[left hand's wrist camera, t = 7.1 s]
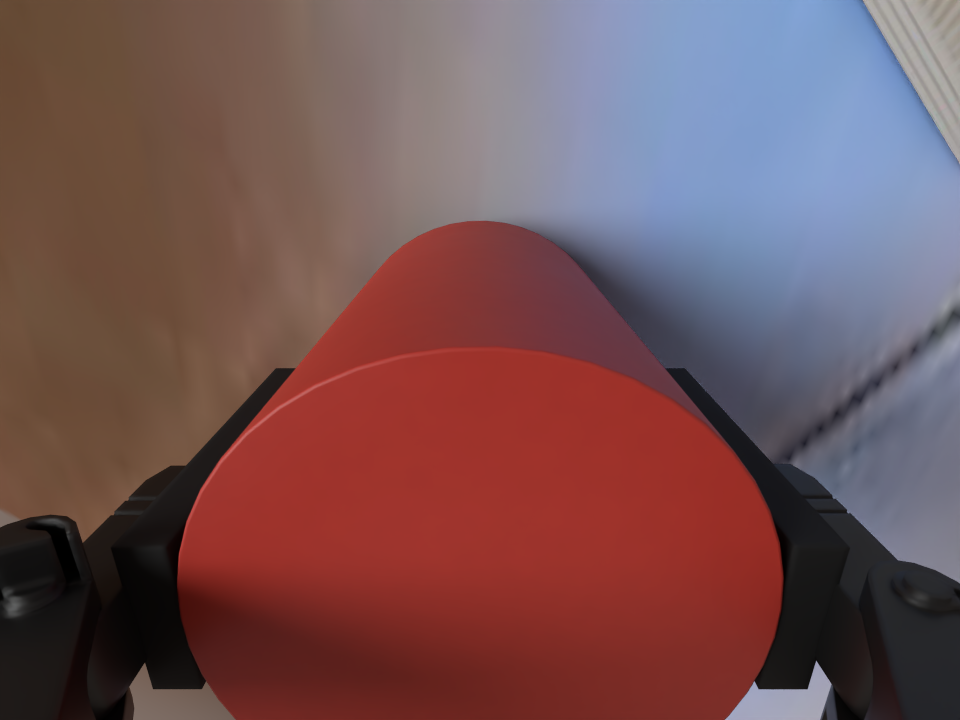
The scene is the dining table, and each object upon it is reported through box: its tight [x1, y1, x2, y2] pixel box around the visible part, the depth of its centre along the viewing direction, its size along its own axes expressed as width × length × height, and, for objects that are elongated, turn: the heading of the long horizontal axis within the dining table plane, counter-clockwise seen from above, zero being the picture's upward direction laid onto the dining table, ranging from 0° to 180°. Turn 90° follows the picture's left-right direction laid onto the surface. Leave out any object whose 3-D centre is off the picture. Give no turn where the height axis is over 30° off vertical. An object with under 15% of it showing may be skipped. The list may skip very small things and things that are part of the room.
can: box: [177, 221, 784, 720], centre depth 13 cm, size 9×9×12 cm
